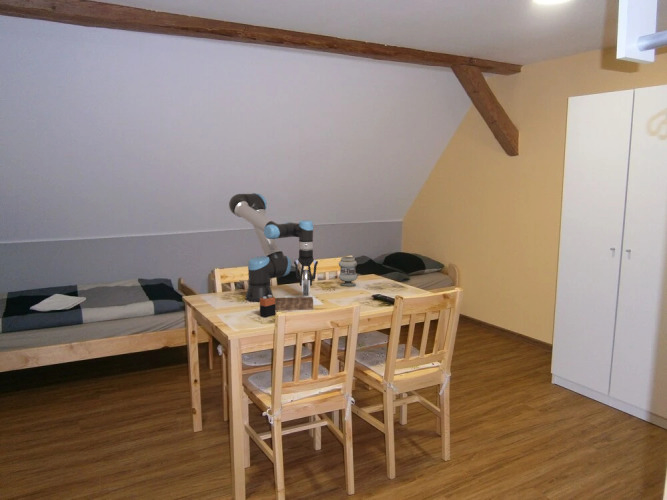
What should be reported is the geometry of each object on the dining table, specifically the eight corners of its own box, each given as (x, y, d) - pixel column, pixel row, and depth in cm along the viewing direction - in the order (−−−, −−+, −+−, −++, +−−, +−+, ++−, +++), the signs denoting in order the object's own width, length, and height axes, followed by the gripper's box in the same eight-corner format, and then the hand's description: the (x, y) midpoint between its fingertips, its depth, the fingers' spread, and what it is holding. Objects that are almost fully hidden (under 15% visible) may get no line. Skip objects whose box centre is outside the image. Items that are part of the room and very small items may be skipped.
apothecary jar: (335, 284, 317) (335, 256, 315) (351, 282, 323) (351, 255, 321) (344, 288, 307) (344, 259, 304) (361, 286, 312) (361, 258, 310)
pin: (303, 295, 270) (303, 270, 268) (302, 294, 273) (303, 269, 271) (308, 295, 270) (308, 270, 268) (308, 294, 273) (308, 269, 271)
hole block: (266, 310, 254) (266, 302, 253) (267, 306, 263) (267, 297, 262) (313, 309, 256) (313, 301, 255) (312, 305, 265) (312, 297, 264)
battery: (275, 315, 246) (275, 295, 244) (265, 317, 241) (265, 297, 239) (269, 313, 249) (269, 294, 247) (259, 316, 243) (259, 296, 242)
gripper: (291, 250, 263) (291, 293, 267) (321, 250, 265) (320, 293, 269) (291, 248, 271) (291, 290, 274) (320, 248, 272) (319, 289, 276)
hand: (305, 291), depth 271 cm, fingers closed on pin, 3 cm apart
